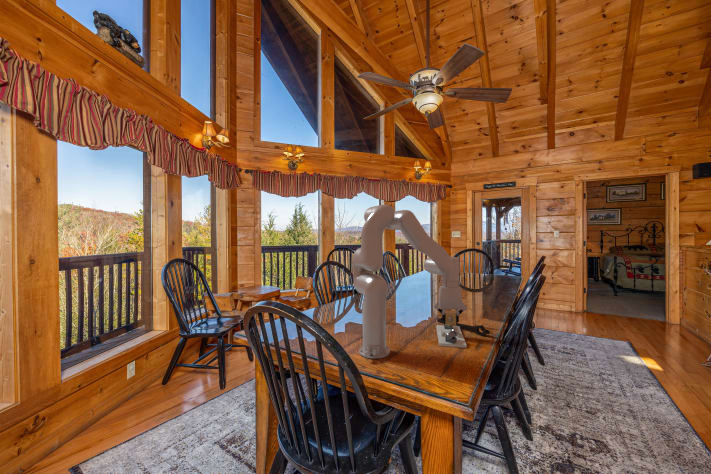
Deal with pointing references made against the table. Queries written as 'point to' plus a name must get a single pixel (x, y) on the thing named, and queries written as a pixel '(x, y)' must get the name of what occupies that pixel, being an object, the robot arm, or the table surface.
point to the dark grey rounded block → (451, 336)
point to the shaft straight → (448, 327)
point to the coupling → (450, 318)
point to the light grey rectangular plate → (442, 333)
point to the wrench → (471, 328)
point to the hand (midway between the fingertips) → (450, 322)
